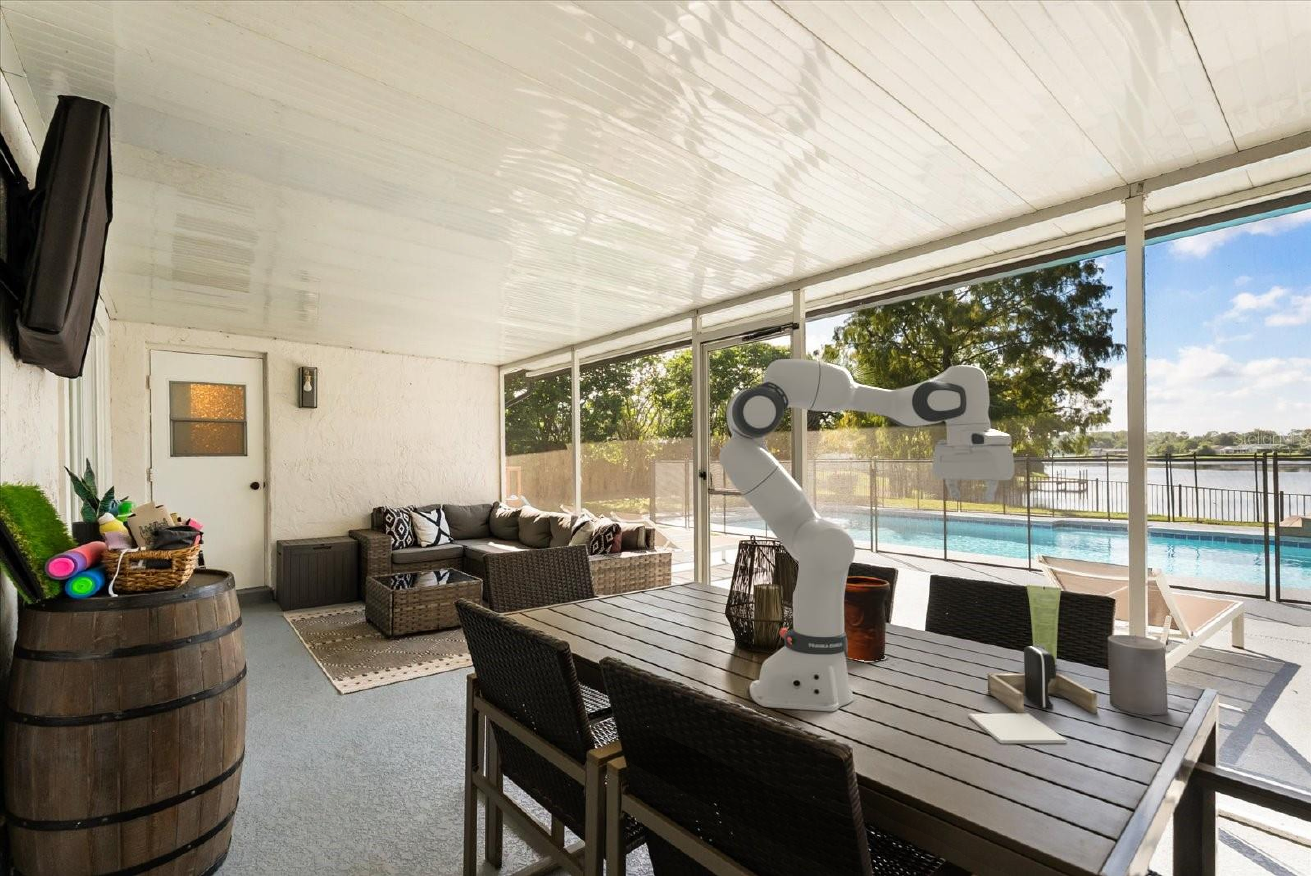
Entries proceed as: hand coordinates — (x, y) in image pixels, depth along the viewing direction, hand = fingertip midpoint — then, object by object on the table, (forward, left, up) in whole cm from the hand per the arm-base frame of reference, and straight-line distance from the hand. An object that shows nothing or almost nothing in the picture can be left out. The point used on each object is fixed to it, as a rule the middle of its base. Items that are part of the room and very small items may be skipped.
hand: (971, 500), depth 138 cm
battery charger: (+12, -4, -43) cm, 45 cm away
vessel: (-15, +30, -43) cm, 55 cm away
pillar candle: (+31, -6, -43) cm, 53 cm away
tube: (+29, +22, -43) cm, 57 cm away
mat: (-1, -17, -43) cm, 46 cm away
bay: (+12, -4, -43) cm, 45 cm away
